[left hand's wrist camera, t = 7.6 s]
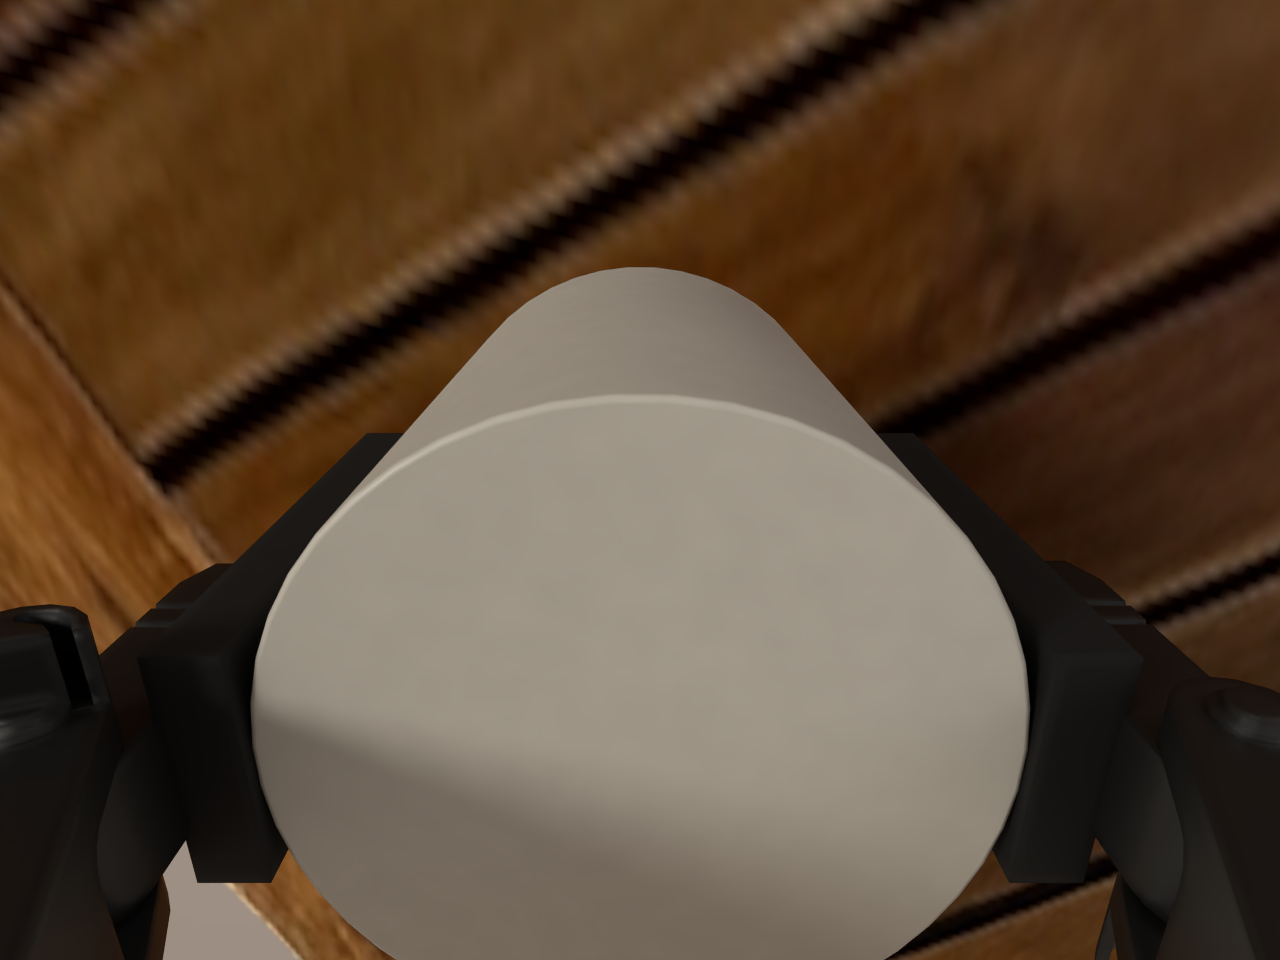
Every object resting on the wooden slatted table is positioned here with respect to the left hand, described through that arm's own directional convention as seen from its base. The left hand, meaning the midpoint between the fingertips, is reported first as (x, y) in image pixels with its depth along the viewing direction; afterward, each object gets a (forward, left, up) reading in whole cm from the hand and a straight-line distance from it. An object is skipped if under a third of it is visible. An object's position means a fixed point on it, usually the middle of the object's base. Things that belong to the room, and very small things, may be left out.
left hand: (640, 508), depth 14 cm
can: (0, 0, -3) cm, 3 cm away
